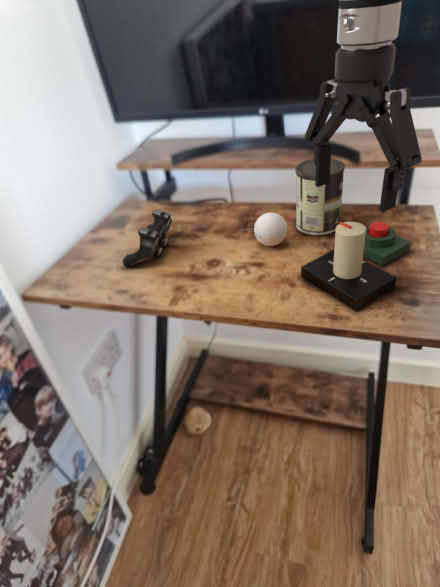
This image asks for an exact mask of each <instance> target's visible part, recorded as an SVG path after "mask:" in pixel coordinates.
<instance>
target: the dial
mask: <svg viewBox="0 0 440 587" xmlns="http://www.w3.org/2000/svg"><path fill="white" fill-rule="evenodd" d="M334 233H335V234H334V248H333V250H334V264H333V272H334V274H335V275H336V276H337V277H339V278H343V279H353V278H356V277H358V276H359V275H360V274H361V270H362V261H363V260H364V256H363V253H364V244H365V235H366V226H365V225H364V224H363V223H360V222H358V221H344V222H343V221H340V223H339V225H337V227H336V231H335V232H334Z"/></svg>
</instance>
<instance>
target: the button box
mask: <svg viewBox="0 0 440 587" xmlns="http://www.w3.org/2000/svg"><path fill="white" fill-rule="evenodd" d="M365 227H366V235H365V244H364V253H363V258H366V259H367V260H369V261H371V262H373V263H375V264H378V265H380V266H382V267H384V266H385V265H388V264H389V263H391V262H393V261H395V260H396V259H398V258H400V257H402V256H403V255H405V254H407V253H409V252H410V250H411V245H412V241H411V240H408V239H405V238H403V237H402V236H401V237H400V236H398V235H397V231H396V230H395V229H394V228H393V227H392V226H389V229H388V235H387V236H386V237H381V238H378V237H373V236H370V235H369V227H370V224H369V225H366V226H365Z"/></svg>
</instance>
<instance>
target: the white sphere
mask: <svg viewBox="0 0 440 587" xmlns="http://www.w3.org/2000/svg"><path fill="white" fill-rule="evenodd" d="M251 229H253V234H254V237H255V238H256V239H257V241H258V242H259V243H260V244H262V245H263V246H266V247H274V246H278V245H279V244H281V243H283V241H284V240H285V238H286V237H287V234H288V224H287V221H286V219H285V218H284V217H283V216H282V215H281V214H279V213H277V212H266V213H263V214H261V215H260V216H259V217H258V218H257V219H256V221H255V223H254V226H253V228H252V227H251V228H249V230H251ZM246 230H247V228H245V229H242V231H246Z"/></svg>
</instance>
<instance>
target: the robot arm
mask: <svg viewBox="0 0 440 587" xmlns="http://www.w3.org/2000/svg"><path fill="white" fill-rule="evenodd" d="M402 4H403V0H338V12H337V29H336V30H337V31H336V32H337V34H336V43H337V44H338V46H340V47H339V48H338V49H337V51H336V52H335V62H334V64H335V66H334V79H330V80H327V81H323V82H321V84H320V87H319V96H318V100H317V102H316V105H315V108H314V110H313V112H312V116H311V118H310V121H309V123H308V125H307V129H306V132H305V134H304V140H305V141H306V142H310V143H311V146H312V147H313V159H314V164H315V165H316V178H315V186H317V187H320V186H322V185H325V184H327V183H329V182H330V167H331V159H332V148H333V147H332V144H329V143H330V142H331V139H332V137H333V136H334V135H335V133H336V132H337V131H338V130H339V128H340V127H342V125H343V123H344V122H345V121H346V120H356V121H358V122H359V123H364V122H365V123H366V126H367V127H368V128H370V129H371V130H372V132H373V134H374V136H375V138H376V141H377V142H378V144H379V147H380V148H381V151H382V153H383V154H384V157H385V159H386V161H387V163H388V167H386V168H384V173H383V179H382V186H381V187H382V188H381V193H380V203H379V209H378V211H379V212H381V213H385V212H387V211H389V210H391V209H393V208H394V207H396V205H397V200H398V192H399V190H401V189H402V188H403V187H404V184H405V178H406V171H407V170H408V169H410V168H413V167H415V166H417V165H419V164H421V163H422V162H423V157H422V153H421V149H420V144H419V140H418V136H417V132H416V128H415V124H414V120H413V119H414V118H413V115H412V111H411V105H410V104H411V89H410V88H409V87H403V88H400V89H393V90H392V89H391V88H390V79H391V77H392V75H393V73H394V65H395V60H396V59H395V58H396V52H397V46H396V44H395V43H393V41H395V40H396V39H397V38H398V37H399V31H400V22H401V14H402ZM336 98H337V101H338V103H337V104H336V106H335V107H334V108H333V106H334V104H335V102H336ZM332 108H333V110H332ZM331 110H332V111H331ZM330 114H331V115H330Z"/></svg>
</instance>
